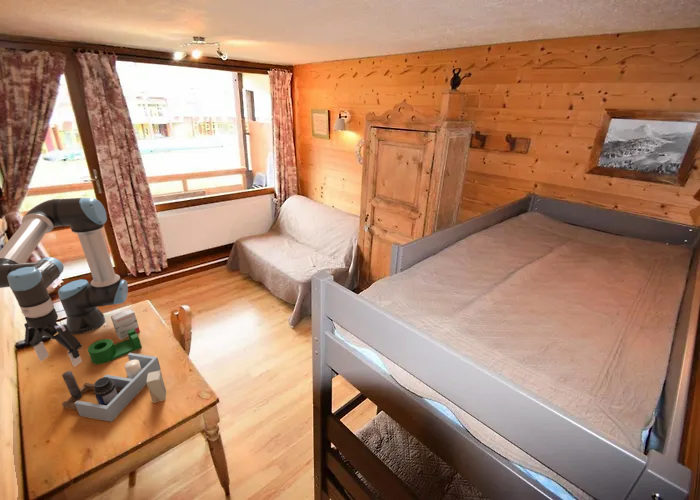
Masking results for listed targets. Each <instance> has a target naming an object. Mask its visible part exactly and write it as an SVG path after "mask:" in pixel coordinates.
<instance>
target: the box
mask: <svg viewBox="0 0 700 500" xmlns="http://www.w3.org/2000/svg"><path fill="white" fill-rule="evenodd" d="M146 383H147V384H146V386H147V388H148V393H149V396H150V399H151V401H152V403H153V404H154V403H159V402H162V401H165V400H166V394H167V389H166V386H165V381H164V378H163V375H162V371H161V369H160V370H159V371H154V372H150V373H148V375H147V382H146Z"/></svg>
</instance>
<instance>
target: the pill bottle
mask: <svg viewBox="0 0 700 500" xmlns="http://www.w3.org/2000/svg"><path fill="white" fill-rule="evenodd" d="M93 384H94V386H95V390H93V391H94V392H93V393H94V395H95V398H96V400H97V404H100V405H106V406H107V405H108V404H109V403H110V402H111V401H112V400H113V399H114V398H115V397H116V396H117V394H118V393H117V390H116V387H115V384H114V383H113V382H111V381H110V378H108V377H104V376H102V377H100V378H99V379H97V380H96V381H94V383H93Z"/></svg>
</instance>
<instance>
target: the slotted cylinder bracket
mask: <svg viewBox="0 0 700 500" xmlns="http://www.w3.org/2000/svg"><path fill="white" fill-rule="evenodd" d="M127 332H128V336H129V337H128V338H127V339H124V340H121V341H119V342H117V343H114V340H113V339H110V338H102V339H98V340H96V341H95V342H92V343H91V344H90V345H89V346H88V347H87V353H88V355H89V357H90V360H91V363H92V364H94V365H102V364H103V365H104V364H107V363H109V362H111V361H113V360H115V359H118V358H120V357H123V356H126V355H128V354H129V353H133V352H135V351H136V350H139V349H142V348H143V347H142V344H141V340H140V336H139V335H138V334H137V333H136V332H135V330H134V329H131V330H128V331H127Z"/></svg>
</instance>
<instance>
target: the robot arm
mask: <svg viewBox="0 0 700 500" xmlns="http://www.w3.org/2000/svg"><path fill="white" fill-rule="evenodd" d="M107 221H108V217H107V211H106V209H105V207H104V205H103V203H102V202H101V201H100V200H98V199H97V198H95V197H76V198H74V197H73V198H53V199H49V200H46V201H43V202H41V203H39V204H37V205H36V206H34V207H32V208H31V209H30V210H28V212H26V214H25V215H24V216H23V217H22V219H21V223H22V224H21V225H20V226H19V227H18V229H16V231H15V232H14V233H13V234H12V236H11V237H10V239H8V241H7V242H6V243H5V245H4V246H3V247H2V248H1V249H0V289H1V288H10V289H11V292H12V293H13V295H14V297H15V299H16V301H17V303H18V306H19V308H20V310H21V313H22V315H23V317H24V320H25V323H24V324H23V325H24V328H25V332H24V334H25V335H24V343H25V344H26V345H28V344H29V345H30V347H33V349H34V350H33V351H34V352H35V353H36V356H37V358H38V360H39V361H40V362H43V361H44V360H45V359H47V358H48V357H50V354H49V352H48V350H47V348H46V345H45V344H44V342H43V341H42V338H43V337H49V338H51V339H52V340H56V341H57V343H59V344H60V345H61V346H62V347H64V348H65V349H66V350H67V355H68V357H69V359H70V362H71V364H72V367H75V368H76V367H77V366H78V365H80V363H82V362H83V360H82V358H81V354H80V352H79V351H80V349H81V348H82V347H83V344H81V341H79V340H78V339H77V337H76V335H81V334H86V333H89V332H92V331H94V330H96V329H97V328H100V327H101V326H102V325H103V324H104V323H105V321H106V318H105V314H103V312H102V311H101V310H100V309H99V307H104V306H112V305H114V306H116V305H120V304H121V305H122V304H123V303H125V301H126V300H127V297H128V293H129V285H128V284H129V283H128V281H127V280H126V279H122V278H121V276H120V275H119V274H117V273H116V272H115V269H114V266H113V263H112V259H111V257H110V254H109V253H110V252H109V250H108V247H107V243H106V241H105V238H104V235H103V231H102V229H103V228H104V226H105V225H104V224H106V222H107ZM58 227H70V230H71V232H72V233H74V234H77V238H78V240H79V242H80V245H81V248H82V251H83V253H84V254H83V255H84V257H85V259H86V262H87V265H88V268H89V271H90V273H91V277H92V280H91V281H90V283H89V281H88V280H87V279H84V278H83V279H77V280H73V281H70V282H67V283H66V284H64V285H62V286H61V287H60V288H59V289H58V290H57V295H58V298H59V300H60V302H61V305H62V308H63V310H64V312H65V315H66V324H65V323H63V324H61V325H59V324H58V322H57V320H58V318H59V316H58V313H57V311H56V309H55V305H54V302H53V301H52V298H51V296H50V293H49V291H48V288H49V286H51V285H52V284H53V283H54V282H55V281H56V280H57V279H58V278H59V277H60V276H61V274H62V273H63V271H64V263H63V262H62V261H61V260H60V259H58V258H55V257H51V256H48V257H47V256H46V257H44V258H41V259H40V260H37V261H36V262H27V261H28V260H29V258H30V256H32V254H33V252H34V251H35V249H36V248H37V247H38V245H39V244H40V242H41V241H42V240H43V239H44V237H45V235H46V234H47V233H50V232H51V231H53V229H54V228H58ZM74 335H75V336H74Z"/></svg>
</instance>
